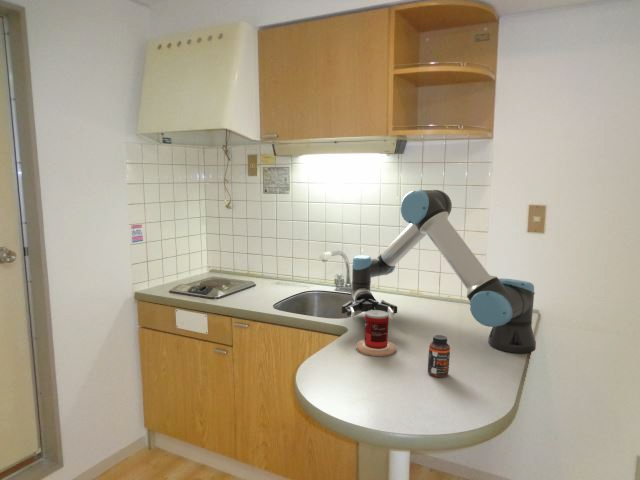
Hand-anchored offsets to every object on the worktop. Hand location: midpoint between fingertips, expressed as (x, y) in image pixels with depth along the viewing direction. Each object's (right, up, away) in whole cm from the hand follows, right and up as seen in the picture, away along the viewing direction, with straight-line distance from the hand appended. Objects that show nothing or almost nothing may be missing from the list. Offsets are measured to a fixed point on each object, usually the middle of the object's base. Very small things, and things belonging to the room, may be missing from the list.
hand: (372, 315), depth 161 cm
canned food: (0, -9, -5) cm, 11 cm away
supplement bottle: (+16, -13, -24) cm, 32 cm away
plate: (0, -10, -5) cm, 12 cm away
